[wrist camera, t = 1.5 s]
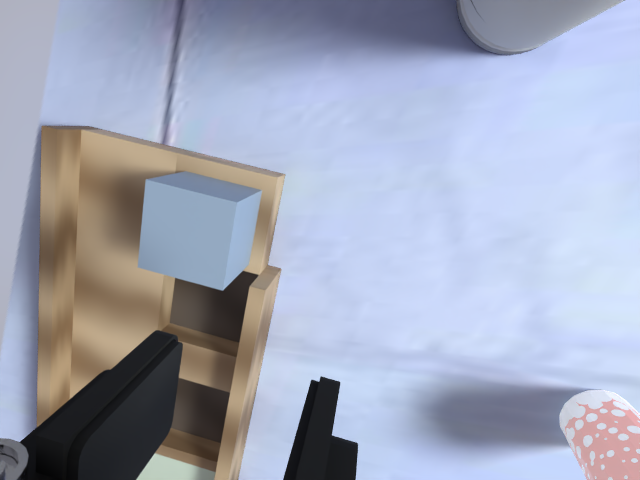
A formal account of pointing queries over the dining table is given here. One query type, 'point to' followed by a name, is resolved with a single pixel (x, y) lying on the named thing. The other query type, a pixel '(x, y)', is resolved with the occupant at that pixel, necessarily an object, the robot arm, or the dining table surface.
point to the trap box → (147, 289)
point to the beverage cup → (603, 435)
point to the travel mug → (524, 21)
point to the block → (197, 228)
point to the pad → (173, 470)
